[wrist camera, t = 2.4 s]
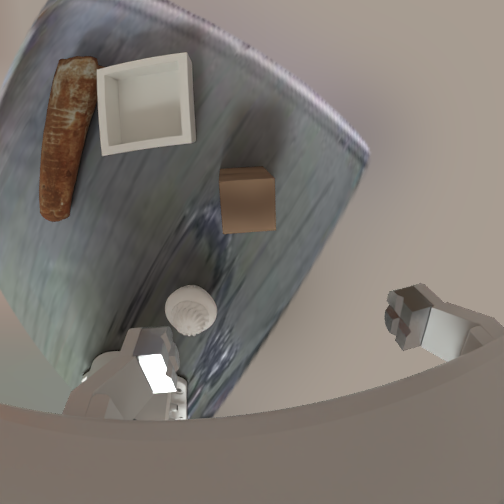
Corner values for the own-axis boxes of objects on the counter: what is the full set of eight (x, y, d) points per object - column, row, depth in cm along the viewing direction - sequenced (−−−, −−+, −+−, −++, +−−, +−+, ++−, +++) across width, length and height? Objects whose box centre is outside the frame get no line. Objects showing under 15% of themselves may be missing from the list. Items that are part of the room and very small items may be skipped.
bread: (118, 66, 25) (100, 56, 20) (77, 220, 32) (56, 237, 27) (74, 59, 24) (51, 50, 19) (38, 207, 31) (15, 221, 25)
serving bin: (196, 140, 30) (191, 143, 25) (118, 151, 29) (102, 156, 25) (192, 63, 26) (186, 52, 22) (114, 76, 26) (96, 69, 21)
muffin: (211, 319, 39) (210, 355, 32) (165, 309, 38) (157, 344, 31) (222, 279, 37) (223, 312, 30) (173, 268, 35) (164, 299, 29)
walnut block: (263, 206, 34) (275, 230, 26) (222, 209, 33) (223, 234, 26) (262, 166, 32) (274, 178, 24) (219, 168, 31) (218, 181, 24)
